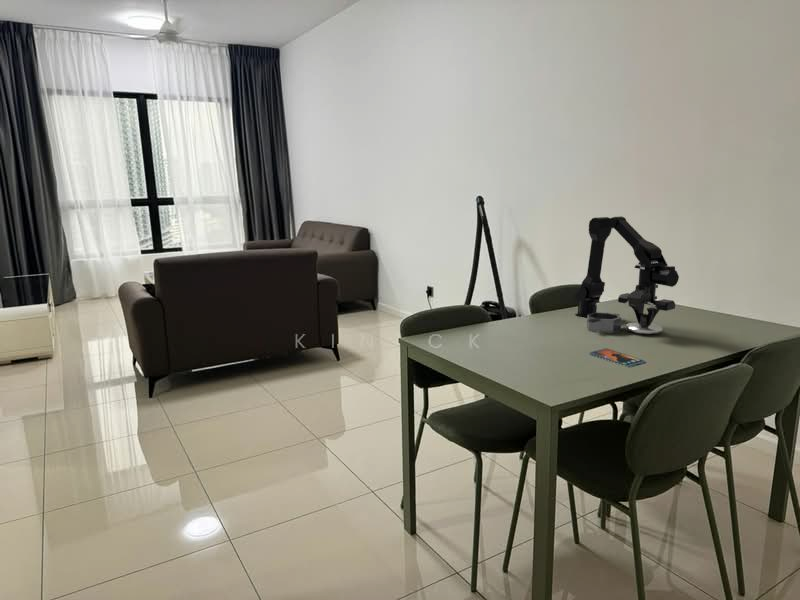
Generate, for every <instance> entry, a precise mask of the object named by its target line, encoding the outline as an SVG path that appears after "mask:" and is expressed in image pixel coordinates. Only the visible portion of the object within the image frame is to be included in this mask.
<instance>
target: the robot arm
mask: <svg viewBox="0 0 800 600" xmlns="http://www.w3.org/2000/svg"><path fill="white" fill-rule="evenodd" d="M613 229H614V230H615V231H616V232H617V233H618V234H619V235H620V236H621V238H623V239H624V240H625V242H626V243H628V245H629V246H630V247H631V248H632V249H633V254H634V256H635V258H636V259H637V260H638V263H637V264H635V265H634V269H639V272H638V284H636V285H635V289H634V290H633V291H631V292H630V293H628V292H627V293H622V294H620V295H619V296H618V298H617V302H618V303H619V304H620V303H621V304H627V303H628V307H631V308H632V310H633V311H634V313H635V318H636V321H637V322H638V324H640V314H641V313H644V309H645V305H650V307H647V308H646V311H647V314H648V319H647V326H650V325H651V324H653V321H654V319H655V318H656V316H657V314H658V313H659V311H664V312H665V311H666V312H667V311H671V310H675V309H676V303H675V301H674V300H672V299H666V298H664V299H659V300H657V299H658V296H657V295H656V291H657V290H656V289H658V288H659V286H664V287H665V286H666V287H671V288H673V287H675V286H676V285H677V284H678V282H679V279H680V276H679V274H678V272H677V271H678V270H676V266H673V265H670V266H669V265H668V263H667V261H666V259H665V257H664V255H663V254H662V253H663V251H662V249H661V248H660V247H659V246H657V245H656V244H654V243H653V242H650V241H648V240H646V239H645V238H644V237H643V236H642V235H641V234H640V233H639V232H638V231H637V230H636V229H635V228H634V227H633V226H632V225H631V224H630V223H629V222H628V221H627V218H625V217H624V216H613V217H608V216H604V217H603V216H602V217H593V218H591V219H590V220H589V222H588V234H589V238H590V240H591V242H590V243H591V244H590V250H589V258H588V265H587V272H586V276H585V277H584V278H583V281H582V282H581V285H580V289H579V290H578V291H577V292H576V293H575V294H574V300H575V301H576V302H578V303H577V312H576V313H575V314H574V315H575V316H579V317H583V318H587V315H588V314H591V313H597V309H598V307H597V306H598V305H597V301H600V299H601V296H602V295H603V293H605V286H606V283H605V281H603V279H602V278H601V272H602V265H603V259H604V258H603V257H604V251H605V247H606V241H607V239H608V237H610V235H611V232H612V230H613Z"/></svg>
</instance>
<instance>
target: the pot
mask: <svg viewBox="0 0 800 600" xmlns="http://www.w3.org/2000/svg"><path fill="white" fill-rule="evenodd" d="M586 319H587V320H586V329H587V330H588V331H589V332H593V333H598V334H615V333H619V332H621V330H622V329H621V328H622V317H621V316H620V313H611V312H596V313H591V314H588V315H587V317H586Z"/></svg>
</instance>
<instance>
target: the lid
mask: <svg viewBox="0 0 800 600" xmlns="http://www.w3.org/2000/svg"><path fill="white" fill-rule="evenodd" d="M647 319H648V313H644V312H643V313H641V314H640V324H638V321H637V322H629V323H627V324H625V329H626V330H627V331H629V332H633V333H635V334H637V335H638V334H639V335H645V336H646V335H653V334H659V333H662V332H663V327H662V326H661V325H659V324H655V323H651V325H650V326H647Z"/></svg>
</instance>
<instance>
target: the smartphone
mask: <svg viewBox="0 0 800 600" xmlns="http://www.w3.org/2000/svg"><path fill="white" fill-rule="evenodd" d="M590 354H591V356H593V355H594V357H596V356H597V358H599V357H600V358H599V359H602V358H603V360H605V359H606V360H605V361H608V360H609V361H608V362H611V361H612V362H611V363H614V362H615V364H617V363H618V365H620V364H621V365H620V366H623V365H625V366H624V367H626V366H628V367H627V368H631V367H630V366H632V367H635V366H634V365H636V366H638V365H639V364H640V365H643V364H647V361H646V360H643V359H640V358H637V357H634V356H630V355H628V354H626V353H622V352H619V351H616V350H613V349H611V348H607V347H605V348H602V349H599V350H598V349H597V350H594V351H590V352H589V355H590ZM642 363H643V364H642ZM637 364H638V365H637Z"/></svg>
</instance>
